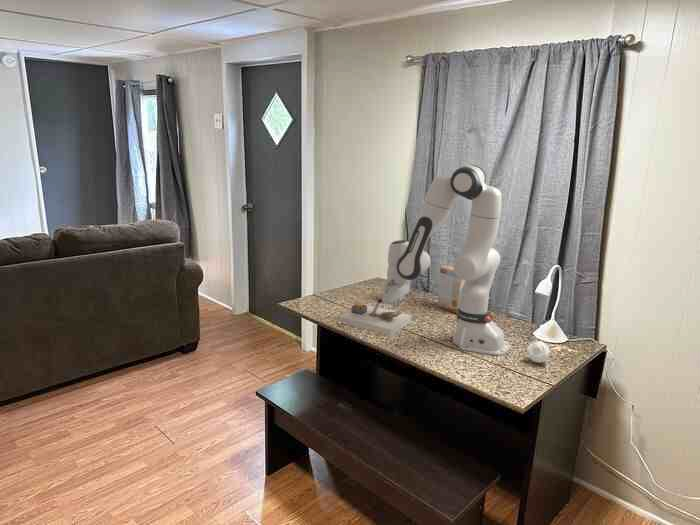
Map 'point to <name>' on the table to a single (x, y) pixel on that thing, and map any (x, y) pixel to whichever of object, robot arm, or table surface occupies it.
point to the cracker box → (449, 289)
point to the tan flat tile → (389, 314)
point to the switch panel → (374, 320)
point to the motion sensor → (538, 352)
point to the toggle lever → (377, 306)
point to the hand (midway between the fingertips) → (395, 307)
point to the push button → (359, 304)
